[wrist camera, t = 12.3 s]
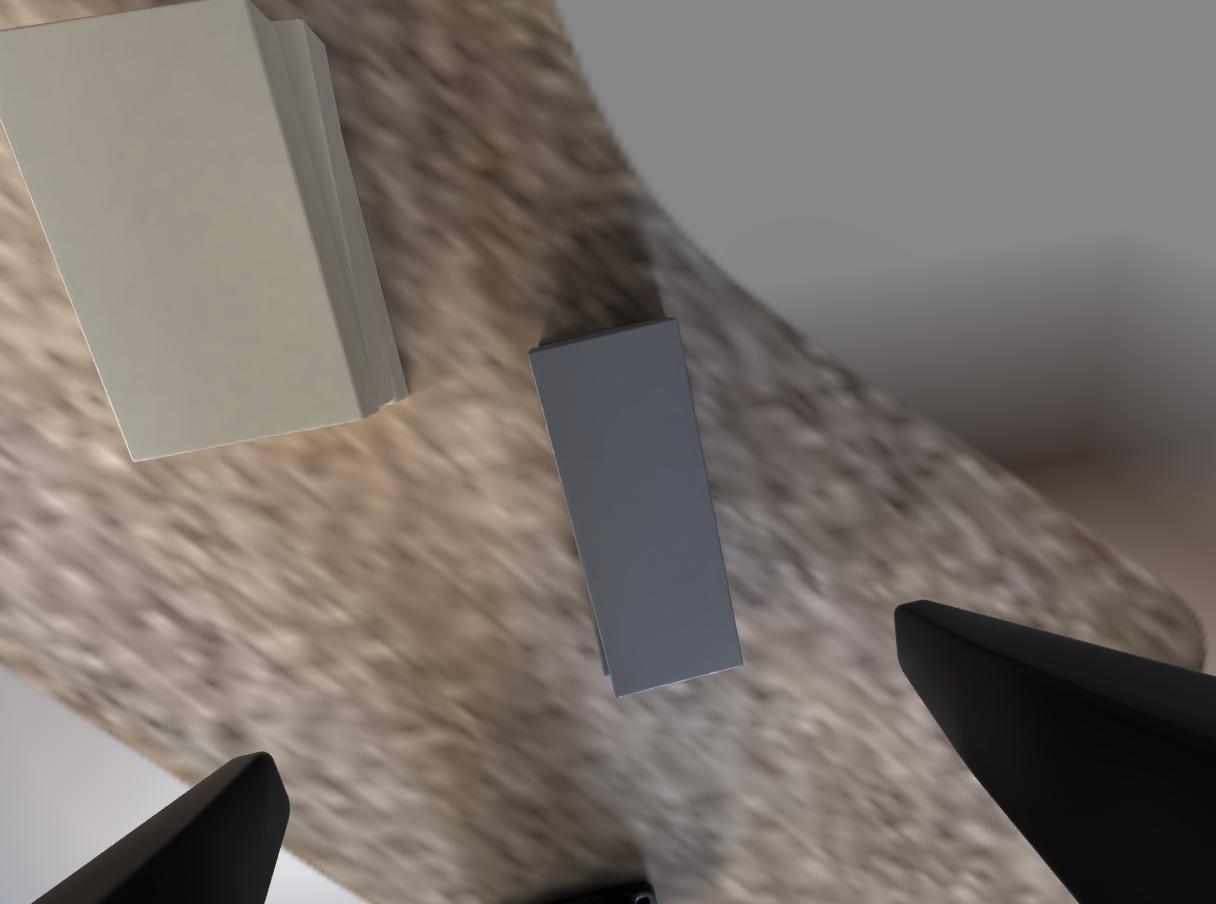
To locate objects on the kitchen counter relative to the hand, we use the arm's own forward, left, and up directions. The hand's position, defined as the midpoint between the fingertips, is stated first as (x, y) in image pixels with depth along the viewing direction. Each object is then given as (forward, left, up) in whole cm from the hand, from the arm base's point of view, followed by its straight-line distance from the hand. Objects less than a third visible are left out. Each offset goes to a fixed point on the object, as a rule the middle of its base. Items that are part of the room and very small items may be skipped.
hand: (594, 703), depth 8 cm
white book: (+8, +7, -9) cm, 14 cm away
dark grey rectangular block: (-1, -2, -11) cm, 12 cm away
